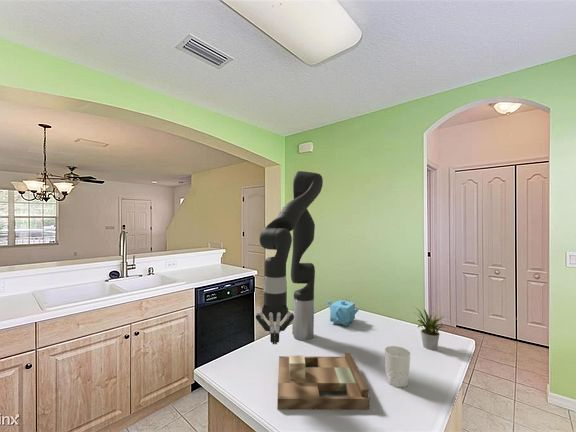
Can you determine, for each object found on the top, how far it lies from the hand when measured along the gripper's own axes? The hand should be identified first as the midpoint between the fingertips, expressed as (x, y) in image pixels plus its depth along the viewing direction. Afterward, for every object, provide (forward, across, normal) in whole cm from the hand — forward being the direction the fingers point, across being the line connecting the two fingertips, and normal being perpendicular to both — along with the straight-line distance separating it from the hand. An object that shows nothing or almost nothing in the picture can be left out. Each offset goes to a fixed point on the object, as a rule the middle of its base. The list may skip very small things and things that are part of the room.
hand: (274, 343), depth 91 cm
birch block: (+10, -7, 0) cm, 13 cm away
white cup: (+14, -41, -2) cm, 43 cm away
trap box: (+13, -14, 0) cm, 20 cm away
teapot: (+13, -33, -54) cm, 65 cm away
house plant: (+13, -64, -27) cm, 70 cm away
